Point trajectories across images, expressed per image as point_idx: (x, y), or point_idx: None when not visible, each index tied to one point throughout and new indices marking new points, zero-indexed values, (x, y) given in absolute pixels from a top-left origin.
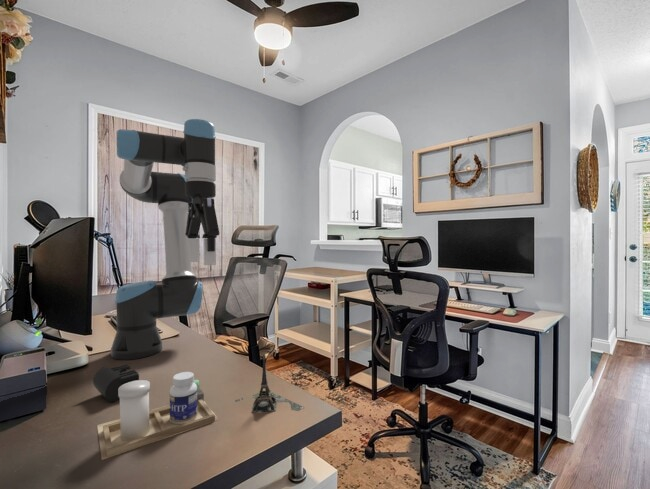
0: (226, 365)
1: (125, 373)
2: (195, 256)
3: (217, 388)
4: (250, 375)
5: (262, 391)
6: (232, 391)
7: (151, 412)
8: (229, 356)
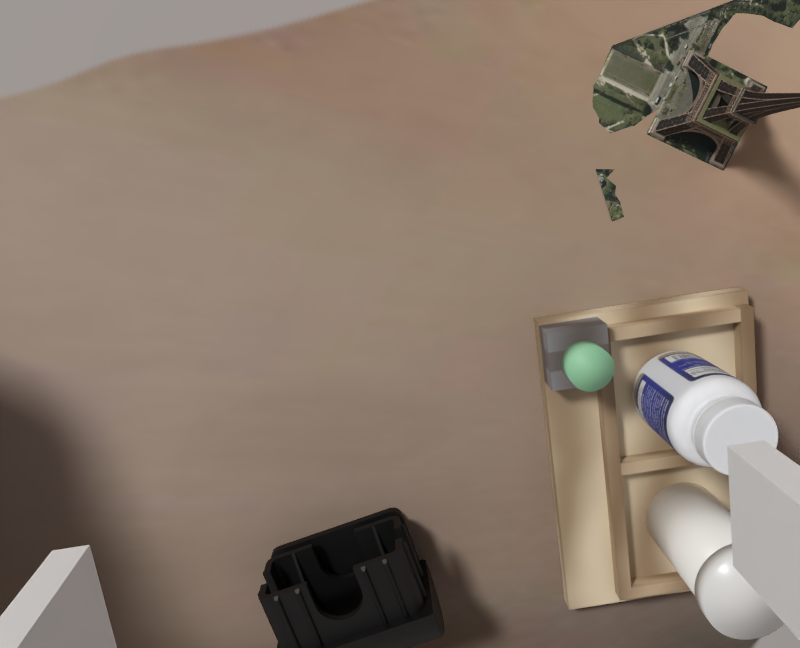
0: (222, 149)
1: (377, 596)
2: (76, 635)
3: (463, 240)
4: (404, 74)
5: (701, 107)
6: (523, 190)
7: (613, 483)
8: (94, 103)
